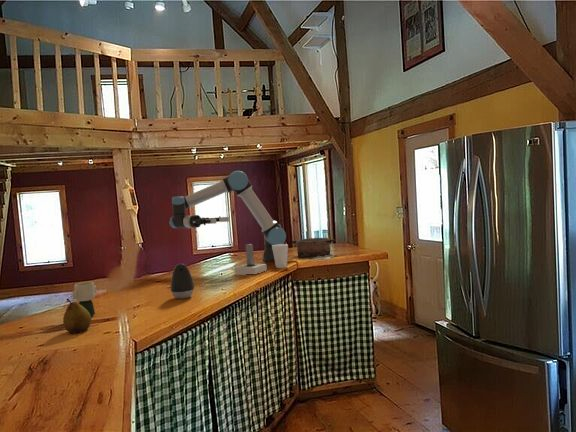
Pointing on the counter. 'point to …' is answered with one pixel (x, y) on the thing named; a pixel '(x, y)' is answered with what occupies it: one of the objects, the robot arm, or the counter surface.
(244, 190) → the robot arm
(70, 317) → the fruit
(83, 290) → the white and green lamp
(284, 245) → the foam cup
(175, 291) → the black egg shape
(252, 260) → the peg
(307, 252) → the cooking pot
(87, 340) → the counter surface
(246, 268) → the socket block
